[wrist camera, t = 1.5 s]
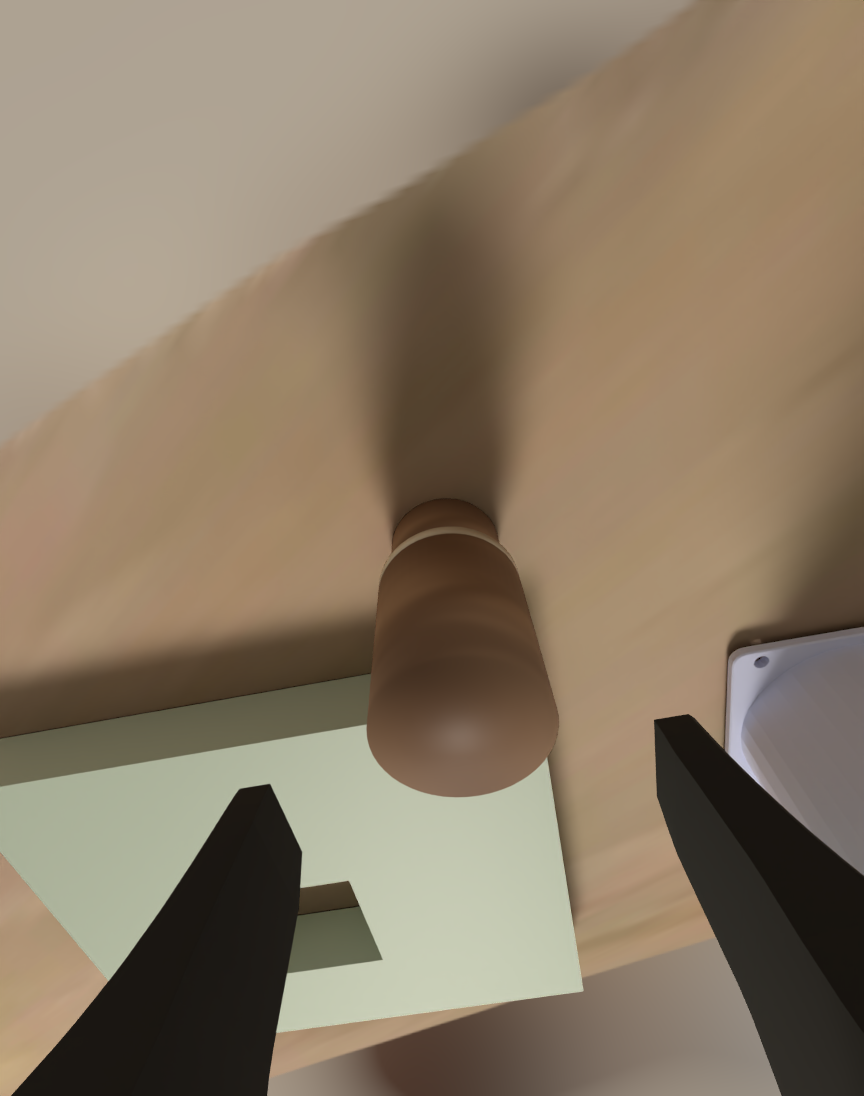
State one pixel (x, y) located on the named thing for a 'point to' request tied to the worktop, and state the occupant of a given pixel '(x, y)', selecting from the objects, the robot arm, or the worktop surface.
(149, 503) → the worktop surface
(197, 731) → the socket board
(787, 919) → the robot arm
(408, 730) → the walnut leg
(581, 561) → the worktop surface
